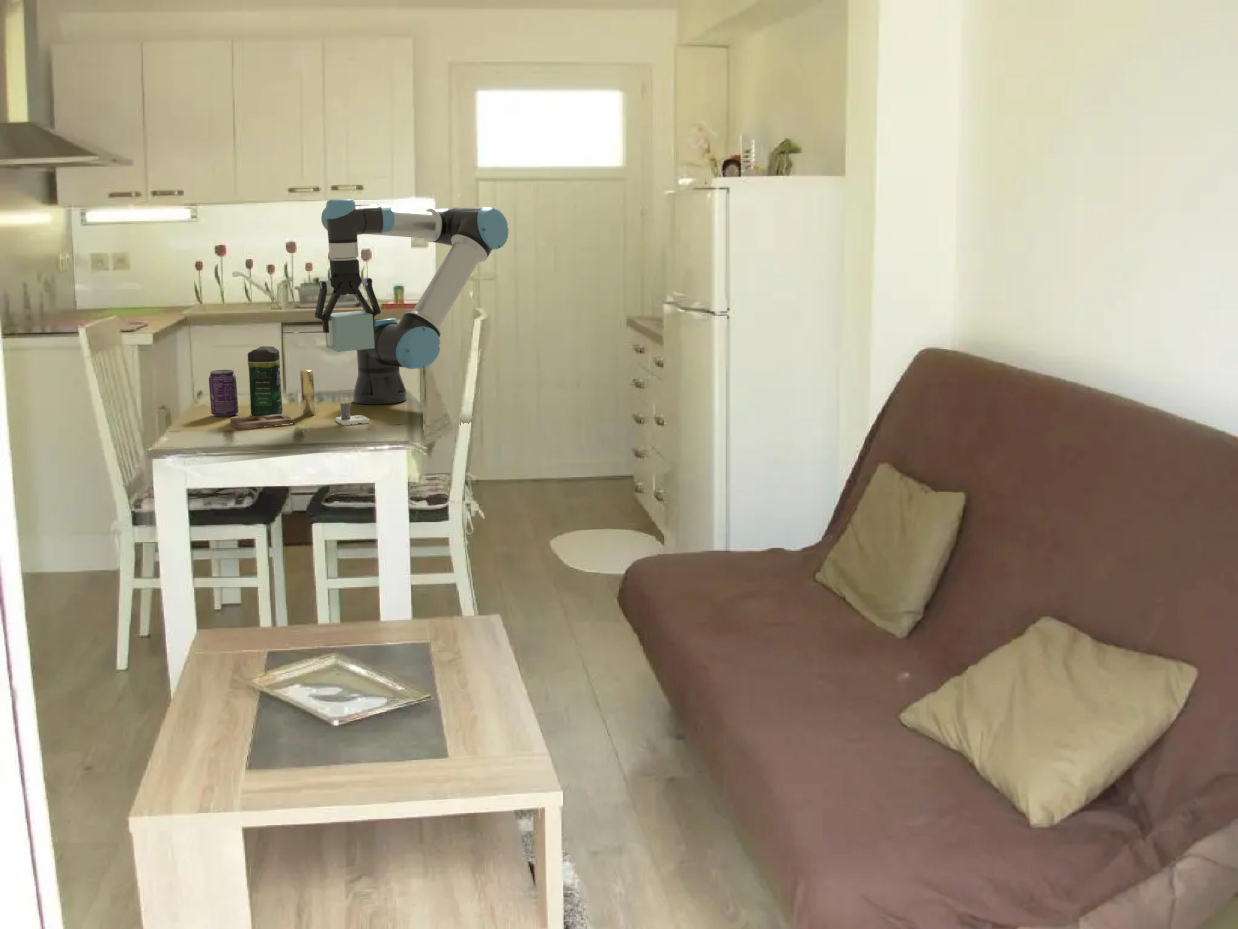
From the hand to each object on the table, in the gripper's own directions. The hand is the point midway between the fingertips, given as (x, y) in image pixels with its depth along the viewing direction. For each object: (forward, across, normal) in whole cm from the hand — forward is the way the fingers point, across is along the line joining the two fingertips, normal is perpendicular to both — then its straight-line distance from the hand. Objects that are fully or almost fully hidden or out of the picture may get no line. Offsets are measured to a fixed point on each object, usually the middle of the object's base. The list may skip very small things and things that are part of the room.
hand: (350, 343), depth 366 cm
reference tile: (+19, +4, +11) cm, 22 cm away
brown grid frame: (+19, +25, +1) cm, 32 cm away
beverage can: (+19, +30, -18) cm, 40 cm away
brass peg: (+19, +11, -7) cm, 23 cm away
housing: (+1, 0, 0) cm, 1 cm away
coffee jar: (+19, +20, -12) cm, 31 cm away
